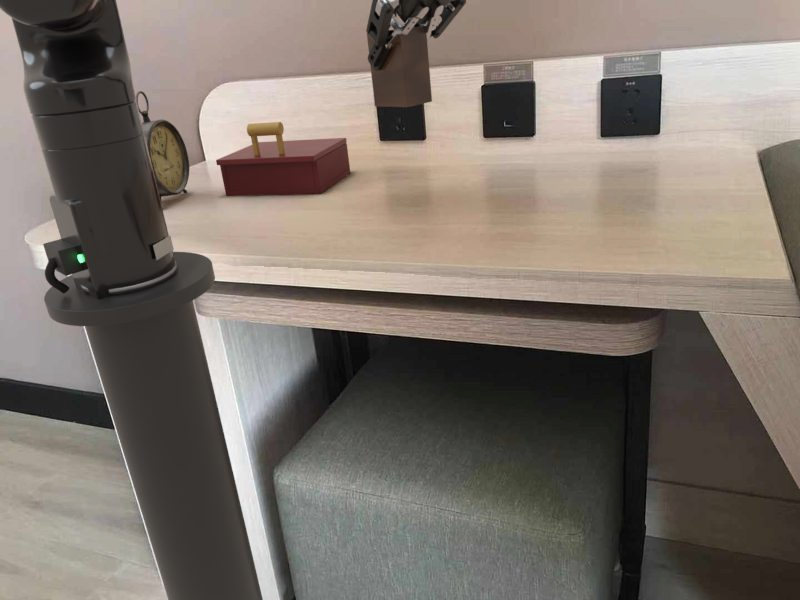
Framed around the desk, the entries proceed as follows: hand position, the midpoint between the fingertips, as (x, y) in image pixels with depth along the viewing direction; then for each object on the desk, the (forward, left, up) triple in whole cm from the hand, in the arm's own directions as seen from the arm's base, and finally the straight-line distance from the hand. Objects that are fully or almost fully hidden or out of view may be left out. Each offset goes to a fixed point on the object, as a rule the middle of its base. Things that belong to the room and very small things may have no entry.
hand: (388, 62), depth 87 cm
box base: (-3, +22, -17) cm, 28 cm away
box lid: (-4, +21, -12) cm, 25 cm away
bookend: (0, -2, -5) cm, 6 cm away
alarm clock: (-19, +32, -17) cm, 41 cm away
